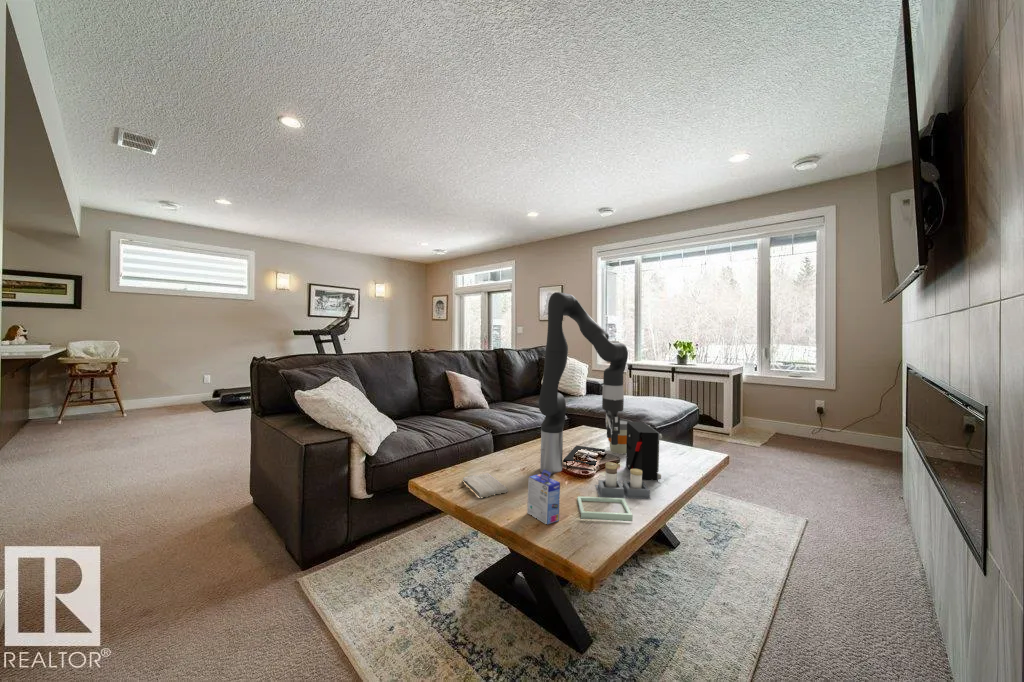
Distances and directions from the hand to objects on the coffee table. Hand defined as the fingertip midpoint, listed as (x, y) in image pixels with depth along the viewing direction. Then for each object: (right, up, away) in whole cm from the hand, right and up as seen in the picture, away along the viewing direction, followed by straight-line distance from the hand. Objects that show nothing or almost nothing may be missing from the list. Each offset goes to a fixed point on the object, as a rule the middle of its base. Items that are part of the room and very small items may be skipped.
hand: (612, 441), depth 140 cm
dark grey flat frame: (-3, -19, +38) cm, 42 cm away
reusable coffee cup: (+17, -19, +51) cm, 57 cm away
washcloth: (-47, -19, +5) cm, 51 cm away
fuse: (0, -19, 0) cm, 19 cm away
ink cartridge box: (-27, -20, -18) cm, 38 cm away
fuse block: (+4, -20, 0) cm, 20 cm away
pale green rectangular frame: (-6, -20, -13) cm, 25 cm away
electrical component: (+18, -20, +20) cm, 33 cm away
